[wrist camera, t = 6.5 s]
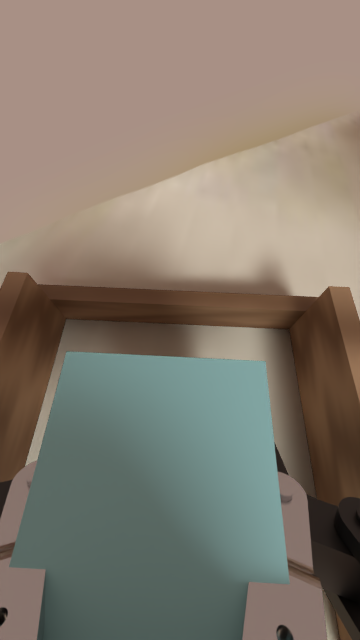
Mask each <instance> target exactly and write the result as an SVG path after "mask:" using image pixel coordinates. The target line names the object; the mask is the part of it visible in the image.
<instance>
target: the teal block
mask: <svg viewBox="0 0 360 640" xmlns="http://www.w3.org/2000/svg"><path fill="white" fill-rule="evenodd" d="M9 567H14V568H30V569H46V580H45V625H44V636H43V640H241V634H242V627H243V620H244V613H245V605H246V598H247V591H248V584H249V582H259V583H275V584H290V582H289V572H288V563H287V554H286V545H285V536H284V527H283V518H282V509H281V499H280V490H279V481H278V472H277V463H276V454H275V445H274V435H273V426H272V417H271V408H270V399H269V390H268V381H267V372H266V362H265V361H250V360H230V359H210V358H190V357H170V356H150V355H130V354H110V353H90V352H70V351H67V352H66V356H65V359H64V363H63V367H62V371H61V374H60V378H59V382H58V385H57V389H56V393H55V397H54V400H53V404H52V408H51V412H50V415H49V419H48V423H47V427H46V430H45V434H44V438H43V441H42V445H41V449H40V453H39V456H38V460H37V464H36V468H35V471H34V475H33V479H32V483H31V486H30V490H29V494H28V497H27V501H26V505H25V509H24V512H23V516H22V520H21V524H20V527H19V531H18V535H17V538H16V542H15V546H14V550H13V553H12V557H11V561H10V565H9Z"/></svg>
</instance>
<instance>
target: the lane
mask: <svg viewBox="0 0 360 640" xmlns="http://www.w3.org/2000/svg"><path fill="white" fill-rule="evenodd" d="M66 319H82V320H103V321H124V322H146V323H167V324H188V325H210V326H231V327H252V328H274V329H289V331H290V337H291V343H292V349H293V355H294V361H295V367H296V373H297V379H298V386H299V392H300V398H301V404H302V410H303V416H304V422H305V428H306V434H307V441H308V447H309V453H310V459H311V465H312V471H313V477H314V483H315V489H316V496H317V499H318V500H321V501H324V502H327V503H330V504H333V505H335V506H339V503H340V501H341V500H342V499H344V498H346V497H356V498H360V320H359V317H358V314H357V310H356V307H355V304H354V301H353V297H352V294H351V291H350V288H349V287H332V286H329V287H328V288H327V289H326V290H325V291H324V292H323V293H322V294H321V296H320V297H305V296H283V295H261V294H238V293H216V292H194V291H172V290H150V289H128V288H106V287H84V286H62V285H40V284H38V285H37V283H36V282H35V281H34V280H33V279H32V278H31V276H30V275H29V274H28V273H19V272H8V273H7V275H6V277H5V279H4V282H3V284H2V286H1V289H0V482H5V481H9V480H12V479H14V477H15V476H16V474H17V473H18V472H19V471H20V470H21V469H23V468H24V467H25V463H26V460H27V456H28V453H29V449H30V445H31V442H32V438H33V435H34V431H35V428H36V424H37V421H38V417H39V414H40V410H41V406H42V403H43V399H44V396H45V392H46V389H47V385H48V382H49V378H50V374H51V371H52V367H53V364H54V360H55V357H56V353H57V350H58V346H59V343H60V339H61V335H62V332H63V328H64V325H65V321H66ZM335 612H336V610H335ZM336 618H337V624H338V630H339V636H340V640H352V639H351V637H350V635H349V633H348V632H347V630H346V628H345V626H344V625H343V623H342V621H341V619H340V618H339V616H338V614H337V612H336Z"/></svg>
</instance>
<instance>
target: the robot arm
mask: <svg viewBox="0 0 360 640" xmlns="http://www.w3.org/2000/svg"><path fill="white" fill-rule="evenodd" d="M274 445H275V443H274ZM275 454H276V463H277V472H278V481H279V490H280V499H281V509H282V518H283V527H284V536H285V545H286V554H287V563H288V572H289V582H290V584H275V583H259V582H249V584H248V591H247V598H246V605H245V613H244V620H243V627H242V634H241V640H327V634H326V624H325V614H324V604H323V595H322V588H323V589H324V591H325V593H326V595H327V596H328V598H329V600H330V602H331V603H332V605H333V607H334V609H335V610H336V612H337V614H338V616H339V618H340V619H341V621H342V623H343V625H344V626H345V628H346V630H347V632H348V633H349V635H350V637H351V639H352V640H360V498H356V497H346V498H344V499H342V500H341V501H340V503H339V506H335V505H333V504H330V503H327V502H324V501H321V500H318V499H316V498H313V497H311V496H309V495H307V494H306V493H305V491H304V489H303V488H302V486H301V485H300V484H299V483H298V482H297V481H296V480H295V479H293V478H292V477H290V476H289V475H288V473H287V471H286V468H285V466H284V464H283V461H282V459H281V457H280V454H279V452H278V450H277V447H276V445H275ZM36 464H37V461H35V462H32V463H30V464H28V465H27V466H25V467H24V468H23V469H21V470H20V471H19V472H18V473H17V474H16V476H15V477H14V479H12V480H9V481H5V482H0V640H43V636H44V625H45V580H46V569H30V568H14V567H9V565H10V561H11V557H12V553H13V550H14V546H15V542H16V538H17V535H18V531H19V527H20V524H21V520H22V516H23V512H24V509H25V505H26V501H27V497H28V494H29V490H30V486H31V483H32V479H33V475H34V471H35V468H36Z"/></svg>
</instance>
